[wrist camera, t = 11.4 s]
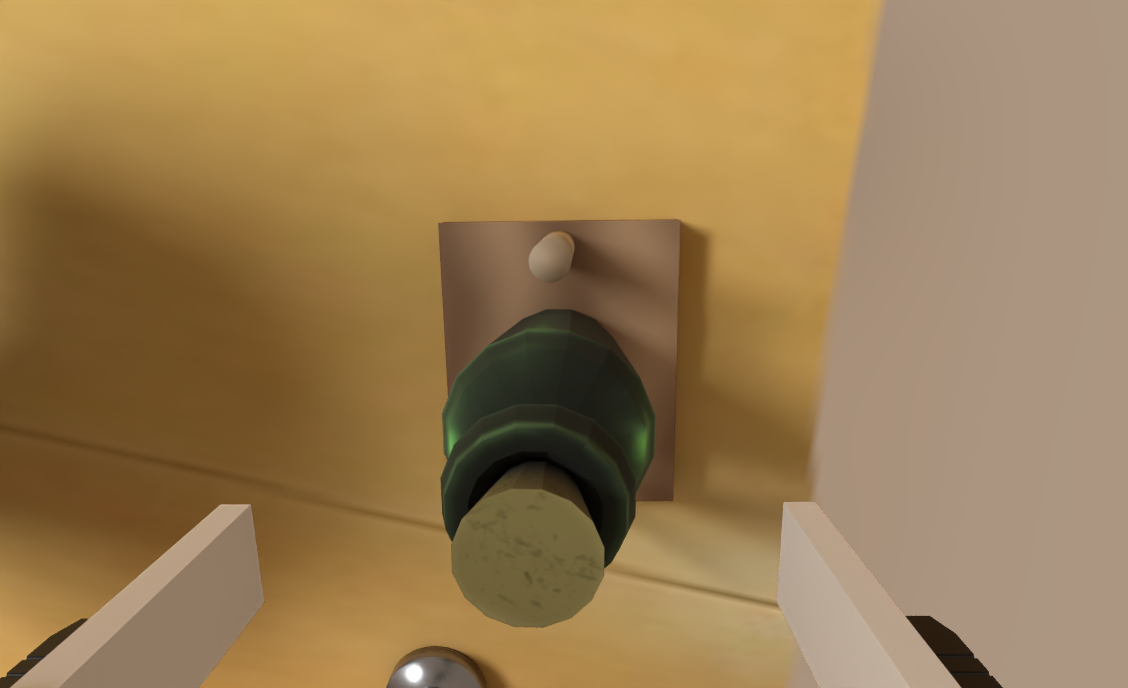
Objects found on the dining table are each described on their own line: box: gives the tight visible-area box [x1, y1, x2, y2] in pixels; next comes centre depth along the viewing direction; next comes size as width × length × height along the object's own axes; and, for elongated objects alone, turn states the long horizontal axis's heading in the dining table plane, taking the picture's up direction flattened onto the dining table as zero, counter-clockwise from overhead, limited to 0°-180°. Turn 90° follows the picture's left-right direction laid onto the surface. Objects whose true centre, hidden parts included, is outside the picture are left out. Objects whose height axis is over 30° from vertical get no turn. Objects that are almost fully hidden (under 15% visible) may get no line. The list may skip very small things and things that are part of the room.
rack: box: [438, 219, 680, 501], centre depth 30 cm, size 12×15×10 cm
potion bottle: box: [441, 309, 656, 628], centre depth 24 cm, size 8×8×18 cm
